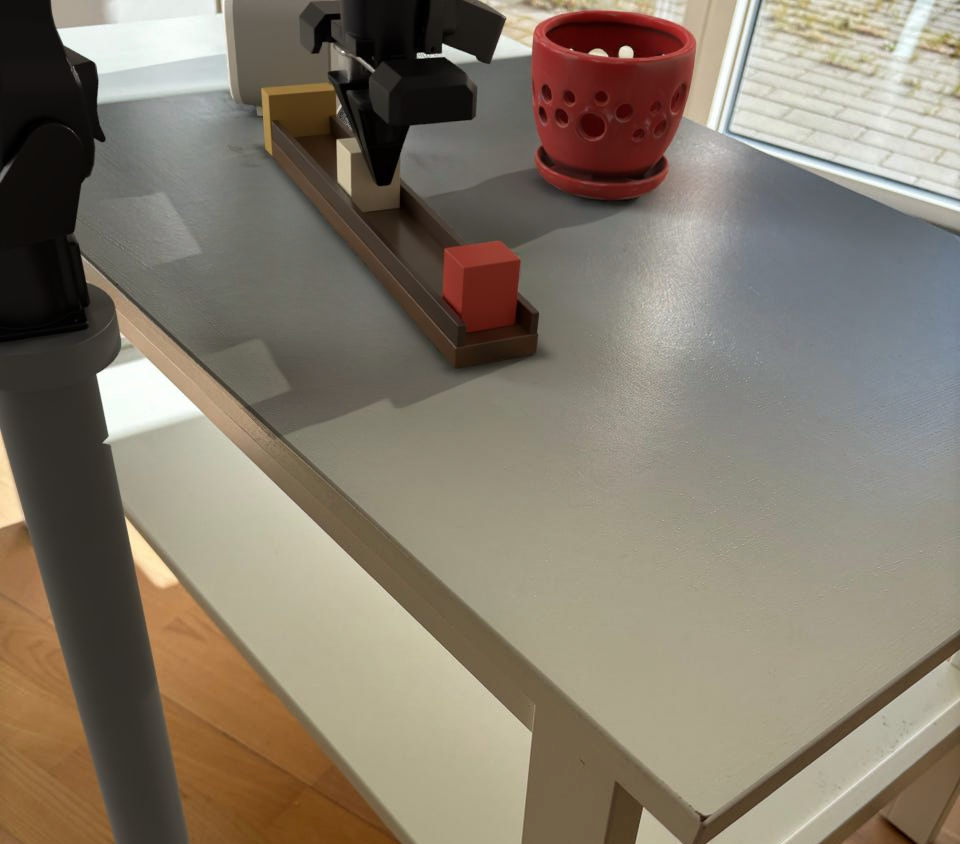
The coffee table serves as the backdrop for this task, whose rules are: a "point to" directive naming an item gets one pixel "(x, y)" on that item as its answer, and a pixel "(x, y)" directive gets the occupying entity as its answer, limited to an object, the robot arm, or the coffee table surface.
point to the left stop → (298, 109)
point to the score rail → (401, 250)
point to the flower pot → (608, 100)
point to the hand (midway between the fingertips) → (382, 184)
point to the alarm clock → (270, 49)
